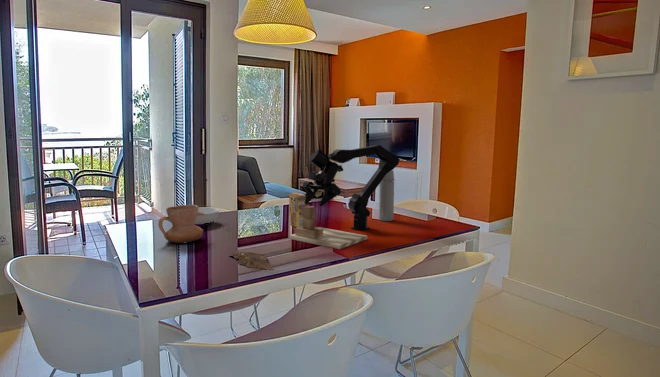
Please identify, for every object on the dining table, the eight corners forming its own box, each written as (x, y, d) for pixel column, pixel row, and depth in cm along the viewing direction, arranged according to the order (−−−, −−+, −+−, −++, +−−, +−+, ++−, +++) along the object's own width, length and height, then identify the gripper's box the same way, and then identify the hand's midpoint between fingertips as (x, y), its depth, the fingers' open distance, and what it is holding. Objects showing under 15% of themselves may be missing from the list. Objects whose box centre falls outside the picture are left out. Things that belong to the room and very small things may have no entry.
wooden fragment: (224, 255, 155) (224, 252, 154) (252, 250, 161) (252, 247, 160) (253, 275, 133) (253, 271, 133) (284, 268, 139) (284, 265, 139)
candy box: (306, 227, 197) (306, 194, 195) (298, 228, 195) (297, 195, 193) (297, 223, 205) (296, 192, 203) (289, 225, 202) (288, 193, 200)
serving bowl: (212, 229, 193) (211, 214, 192) (166, 229, 193) (165, 214, 193) (224, 220, 214) (223, 206, 213) (182, 220, 214) (181, 206, 213)
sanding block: (304, 232, 181) (304, 204, 179) (323, 235, 175) (322, 207, 173) (295, 235, 176) (294, 206, 175) (313, 238, 170) (313, 209, 169)
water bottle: (382, 218, 218) (383, 169, 215) (396, 219, 213) (397, 170, 210) (373, 221, 211) (374, 170, 207) (387, 223, 206) (388, 171, 203)
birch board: (318, 230, 191) (318, 226, 191) (367, 239, 176) (367, 235, 175) (289, 238, 177) (289, 235, 176) (339, 249, 161) (339, 245, 161)
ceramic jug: (201, 234, 183) (198, 202, 181) (210, 241, 171) (208, 207, 169) (156, 241, 174) (153, 207, 172) (163, 249, 162) (160, 212, 160)
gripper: (303, 163, 187) (286, 193, 181) (333, 164, 174) (316, 196, 168) (318, 177, 194) (302, 206, 188) (348, 179, 180) (332, 210, 175)
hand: (312, 205), depth 180 cm, fingers open, 9 cm apart
